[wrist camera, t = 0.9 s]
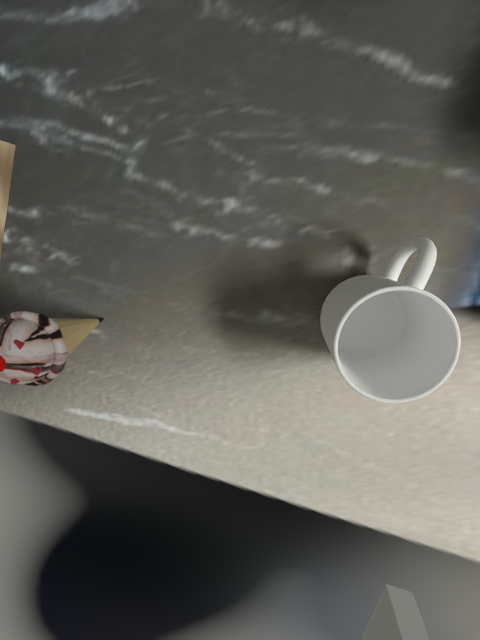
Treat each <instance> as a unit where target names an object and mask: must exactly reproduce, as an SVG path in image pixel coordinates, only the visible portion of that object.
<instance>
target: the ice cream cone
mask: <svg viewBox="0 0 480 640" xmlns="http://www.w3.org/2000/svg"><path fill="white" fill-rule="evenodd" d="M103 319H104V318H63V319H51V318H49V317H47V316H45V315H42V314H38V313H34V312H28V311H16V312H12V313H9V314H7V315H5V316H4V317H3V318H1V319H0V381H1V382H3V383H7V384H14V385H20V384H25V385H33V386H36V385H44V384H46V383H49V382H51V381H52V380H53V379H55V378H56V377H57V376H58V375H59V374H60V373H61V371H62V370H63V368H64V366H65V363H66V361H67V357H68V355H69V354H70V353H71V352H72V351H73V350H74V349H75V348H76V347H77V346H78V345H79V344H80V343H81V342H82V341H83V340H84V339H85V338H86V337H87V336H88V335H89V334H90V333H91V332H92V331H93V329H94V328H95V327H96V326H97V325H98V324H99V323H100V322H101V321H102V320H103Z"/></svg>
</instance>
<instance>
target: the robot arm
mask: <svg viewBox="0 0 480 640" xmlns="http://www.w3.org/2000/svg"><path fill="white" fill-rule="evenodd" d="M361 640H429V637H428V634H427V632H426V629H425V626H424V623H423V621H422V618H421V615H420V612H419V610H418V607H417V604H416V601H415V598H414V596H413V593H412V592H409V591H406V590H403V589H400V588H397V587H394V586H390V585H387V584H386V586H385V588H384V590H383V592H382V595H381V597H380V599H379V602H378V603H377V606H376V608H375V610H374V613H373V615H372V617H371V619H370V621H369V624H368V626H367V628H366V630H365V633H364V635H363V637H362V639H361Z"/></svg>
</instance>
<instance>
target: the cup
mask: <svg viewBox="0 0 480 640" xmlns="http://www.w3.org/2000/svg"><path fill="white" fill-rule="evenodd" d="M416 250H417V251H418V252H419V254H418V258H417V260H416V262H415V264H414V266H413V268H412V270H411V272H410V274H409V275H408V277H407V279H406V281H405V282H404V284H403V283H400V282H397V279H398V277H399V274H400V272H401V270H402V268H403V266H404V264H405V262H406V260H407V259H408V257H409V256H410V255H411V254H412V253H413V252H414V251H416ZM436 256H437V251H436V247H435V245H434V243H433V242H432V241H431V240H430V239H428V238H426V237H421V236H417V237H413V238H410V239H408V240H407V241H405V242H404V243H403V244H402V245H401V246H400V247H399V248H398V249H397V250H396V252H395V253H394V254H393V256H392V258H391V259H390V261H389V263H388V264H387V266H386V268H385V270H384V272H383V274H382V276H376V275H360V276H355V277H352V278H349V279H347V280H345V281H343V282H341V283H340V284H338V285H337V286H336V287H335V288H334V289H333V290H332V291H331V292H330V293H329V295H328V296H327V298H326V299H325V301H324V303H323V306H322V309H321V315H320V325H321V331H322V334H323V337H324V339H325V342H326V344H327V346H328V348H329V350H330V353H331V355H332V357H333V359H334V362H335V364H336V366H337V368H338V370H339V372H340V374H341V376H342V377H343V379H344V380H345V381H346V383H347V384H348V385H349V386H350V387H351V388H352V389H354V390H355V391H356V392H358V393H359V394H361V395H363V396H365V397H367V398H369V399H372V400H375V401H379V402H385V403H402V402H408V401H412V400H416V399H419V398H421V397H423V396H425V395H427V394H429V393H431V392H432V391H434V390H435V389H436V388H438V387H439V386H440V385H441V384H442V383H443V382H444V381H445V380H446V379H447V378H448V376H449V375H450V374H451V372H452V370H453V369H454V367H455V365H456V362H457V359H458V356H459V352H460V342H461V339H460V331H459V327H458V324H457V321H456V319H455V317H454V315H453V313H452V312H451V310H450V309H449V308H448V307H447V305H446V304H445V303H444V302H443V301H441V300H440V299H439V298H438V297H436V296H435V295H433V294H431V293H429V292H427V291H425V290H423V289H424V287H425V285H426V283H427V281H428V279H429V277H430V275H431V273H432V270H433V268H434V265H435V262H436Z"/></svg>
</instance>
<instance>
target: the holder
mask: <svg viewBox="0 0 480 640" xmlns="http://www.w3.org/2000/svg"><path fill="white" fill-rule="evenodd" d="M14 153H15V145H13V144H10V143H7V142H4V141H1V140H0V258H1V251H2V243H3V236H4V228H5V221H6V213H7V206H8V198H9V191H10V183H11V176H12V168H13V161H14Z"/></svg>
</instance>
